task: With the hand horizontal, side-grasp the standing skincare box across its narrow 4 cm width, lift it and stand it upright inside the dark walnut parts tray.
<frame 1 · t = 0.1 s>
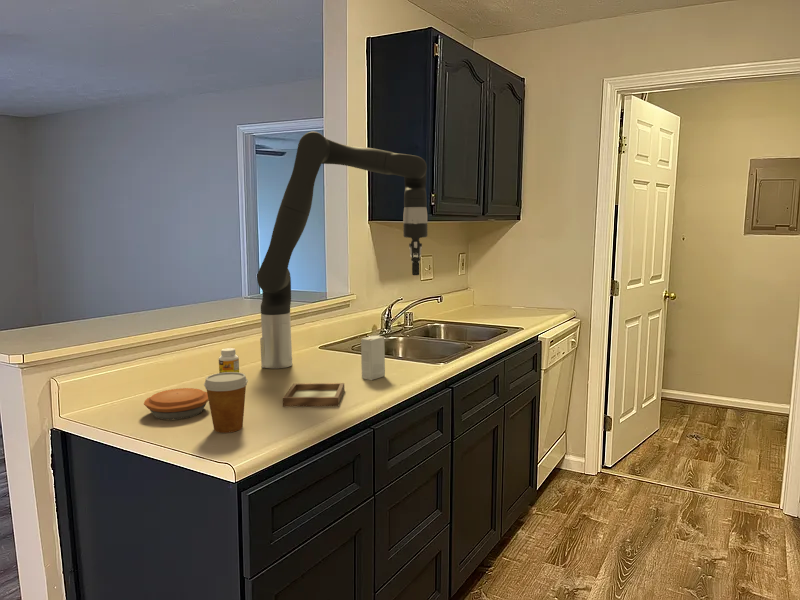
hand: (415, 273, 195), 29 cm above the counter, tool pointing down, fingers open, 8 cm apart
pie: (178, 413, 153), on the counter
supplement bottle: (230, 384, 179), on the counter
skincare box: (373, 378, 183), on the counter
disposable coffee cup: (228, 429, 141), on the counter
tray: (314, 398, 163), on the counter
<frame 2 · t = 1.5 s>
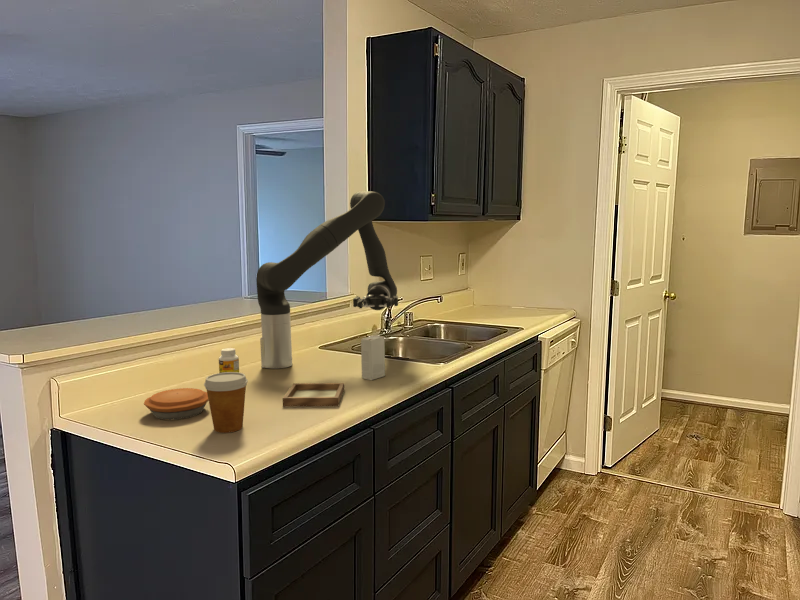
hand: (374, 304, 191), 20 cm above the counter, tool horizontal, fingers open, 8 cm apart
nothing on the counter moved.
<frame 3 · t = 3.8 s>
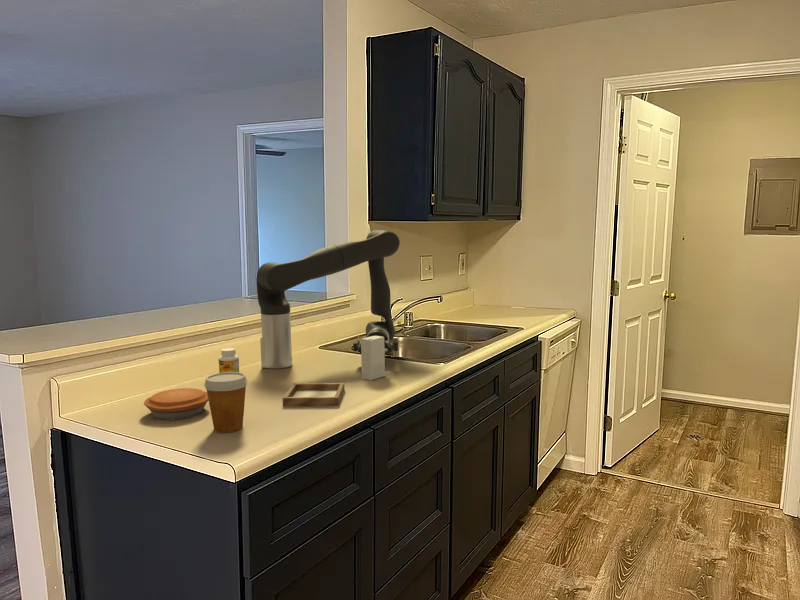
hand: (374, 350, 190), 7 cm above the counter, tool horizontal, fingers open, 8 cm apart
nothing on the counter moved.
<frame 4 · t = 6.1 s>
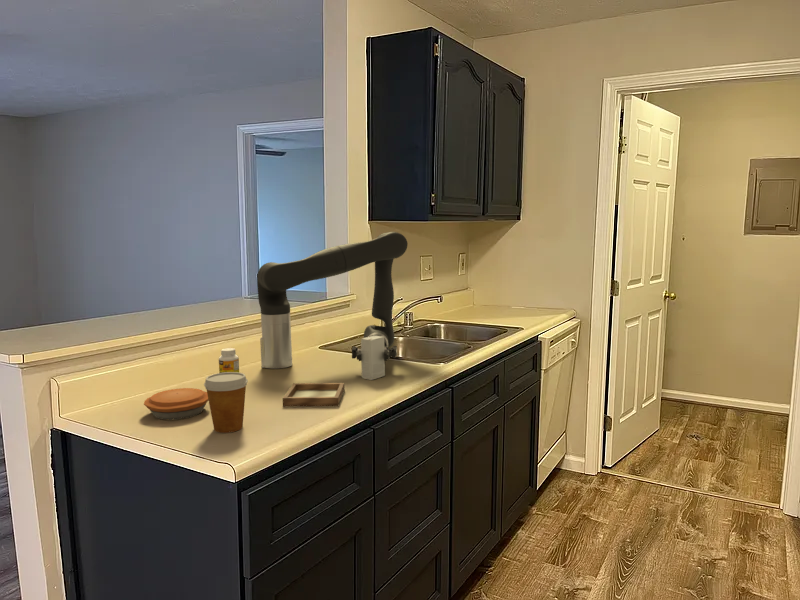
hand: (372, 357, 180), 7 cm above the counter, tool horizontal, fingers closed on skincare box, 7 cm apart
skincare box: (373, 378, 183), on the counter, touching gripper
everything else where it was.
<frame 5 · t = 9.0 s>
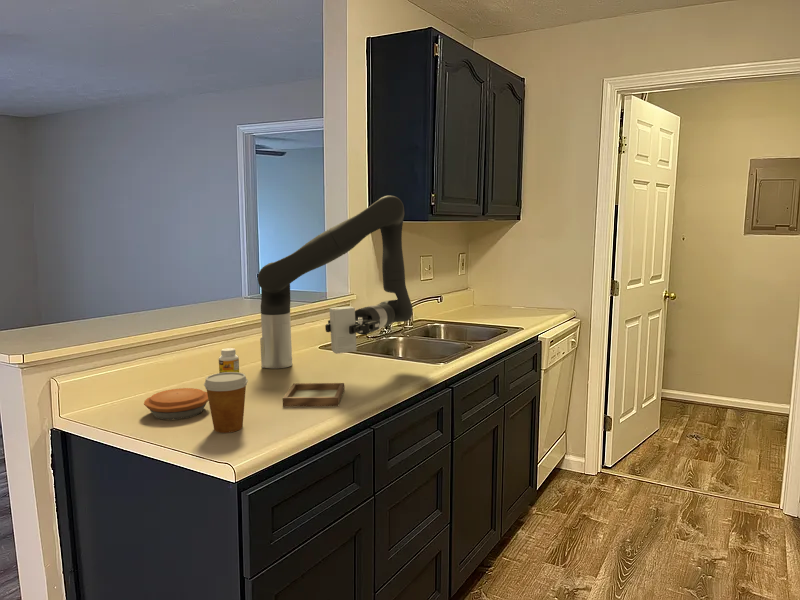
hand: (338, 329, 165), 17 cm above the counter, tool horizontal, fingers closed on skincare box, 7 cm apart
skincare box: (343, 352, 168), point 11 cm above the counter, touching gripper
everything else where it was.
when the fingers open (8 cm above the counter, at t = 12.1 s): skincare box stays where it is, resting on tray.
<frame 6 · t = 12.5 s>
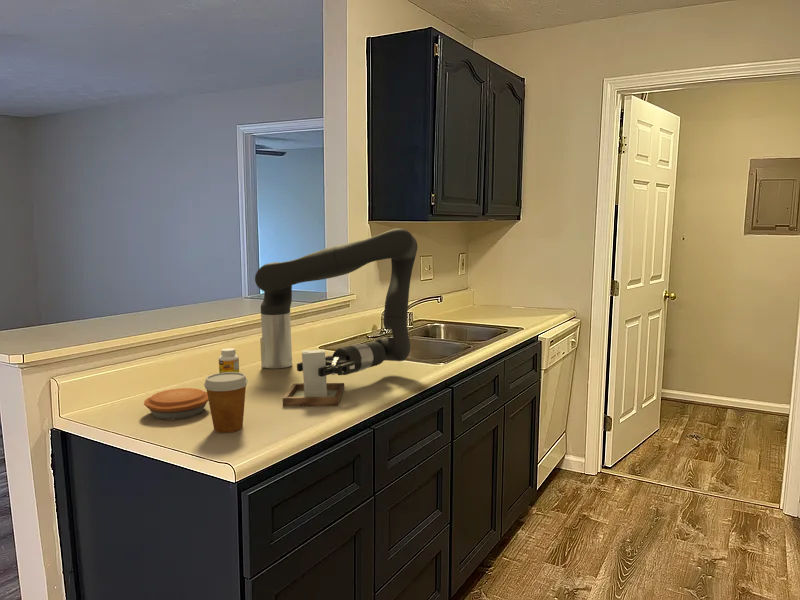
hand: (308, 370, 161), 8 cm above the counter, tool horizontal, fingers open, 8 cm apart
skincare box: (315, 396, 163), resting on tray
everything else where it was.
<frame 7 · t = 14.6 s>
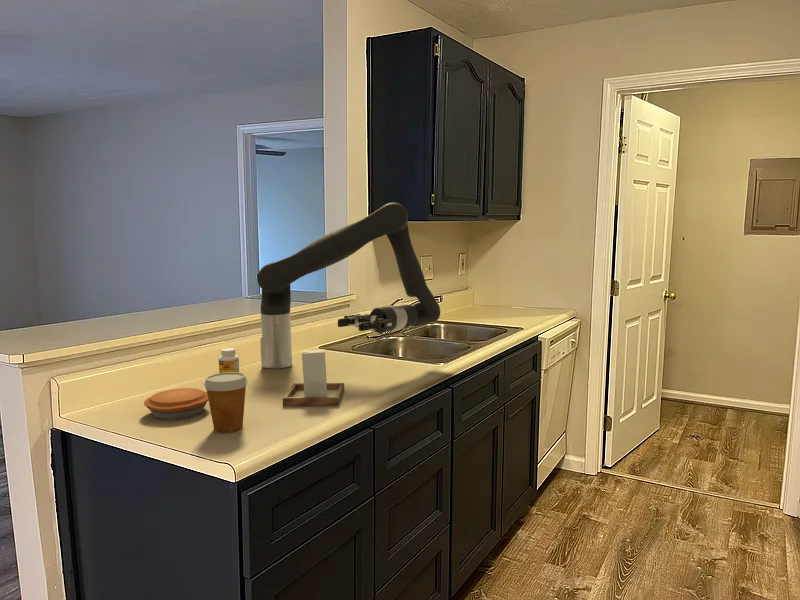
hand: (348, 325, 172), 17 cm above the counter, tool horizontal, fingers open, 8 cm apart
nothing on the counter moved.
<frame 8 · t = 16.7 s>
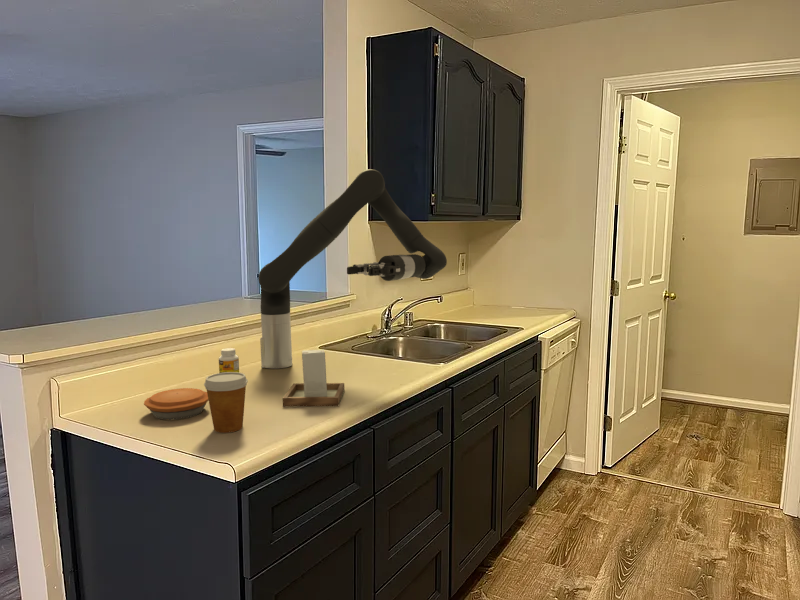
hand: (358, 271, 174), 32 cm above the counter, tool horizontal, fingers open, 8 cm apart
nothing on the counter moved.
at the end: skincare box inside the target area on the tray (0.1 cm from its centre), point 0.4 cm above the tray's base; skincare box tilted 0°; the gripper is holding nothing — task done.
